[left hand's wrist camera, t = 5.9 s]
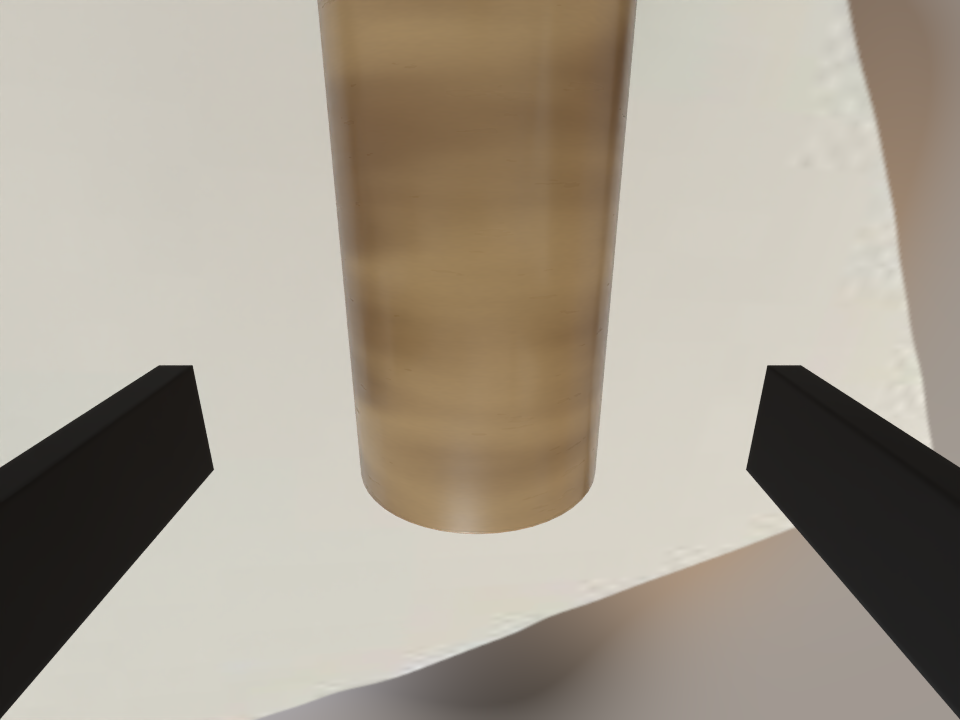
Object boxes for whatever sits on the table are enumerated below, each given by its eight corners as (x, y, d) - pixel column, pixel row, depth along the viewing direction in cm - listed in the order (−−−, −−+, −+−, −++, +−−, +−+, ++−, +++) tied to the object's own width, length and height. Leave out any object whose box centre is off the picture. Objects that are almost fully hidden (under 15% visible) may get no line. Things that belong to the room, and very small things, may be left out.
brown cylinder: (573, 408, 22) (622, 534, 14) (382, 409, 22) (335, 535, 14) (631, -452, 13) (819, -1184, 6) (319, -454, 13) (130, -1194, 6)
